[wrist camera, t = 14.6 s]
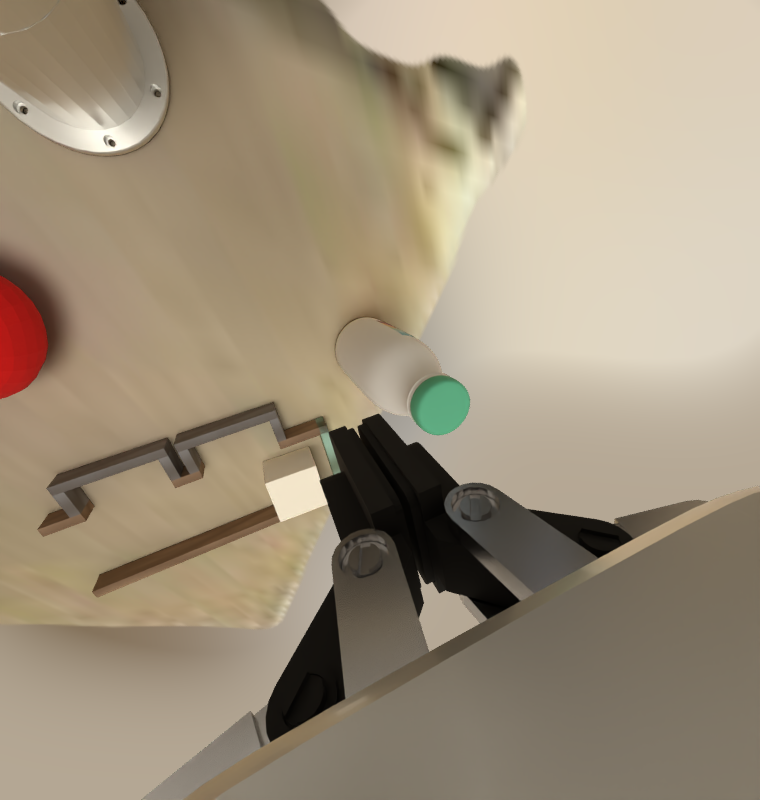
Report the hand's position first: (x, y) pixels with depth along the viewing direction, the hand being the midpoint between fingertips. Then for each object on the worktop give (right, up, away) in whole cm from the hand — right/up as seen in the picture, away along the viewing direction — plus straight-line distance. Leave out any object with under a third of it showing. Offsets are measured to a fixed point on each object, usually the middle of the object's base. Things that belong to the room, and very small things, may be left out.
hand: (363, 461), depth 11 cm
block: (-11, -8, +36) cm, 38 cm away
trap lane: (-20, -8, +32) cm, 39 cm away
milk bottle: (-1, +8, +33) cm, 34 cm away
